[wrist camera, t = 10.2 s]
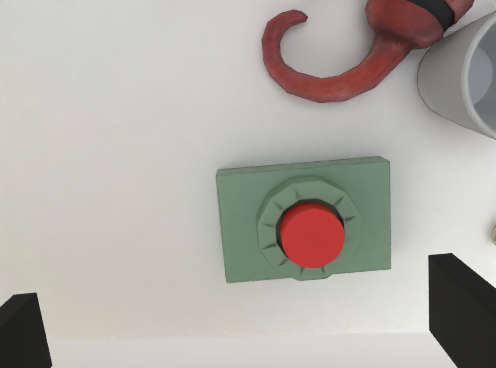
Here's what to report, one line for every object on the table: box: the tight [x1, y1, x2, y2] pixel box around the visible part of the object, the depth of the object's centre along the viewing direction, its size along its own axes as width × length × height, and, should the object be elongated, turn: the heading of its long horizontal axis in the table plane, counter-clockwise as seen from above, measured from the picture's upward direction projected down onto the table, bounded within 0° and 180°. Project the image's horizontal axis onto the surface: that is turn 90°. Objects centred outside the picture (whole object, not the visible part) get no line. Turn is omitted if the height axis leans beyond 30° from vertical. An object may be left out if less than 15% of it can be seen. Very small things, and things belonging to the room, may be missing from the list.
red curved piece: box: [262, 0, 474, 103], centre depth 28 cm, size 11×6×12 cm
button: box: [280, 202, 345, 268], centre depth 29 cm, size 4×4×2 cm
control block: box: [216, 156, 391, 283], centre depth 31 cm, size 12×8×4 cm, turn 95°
